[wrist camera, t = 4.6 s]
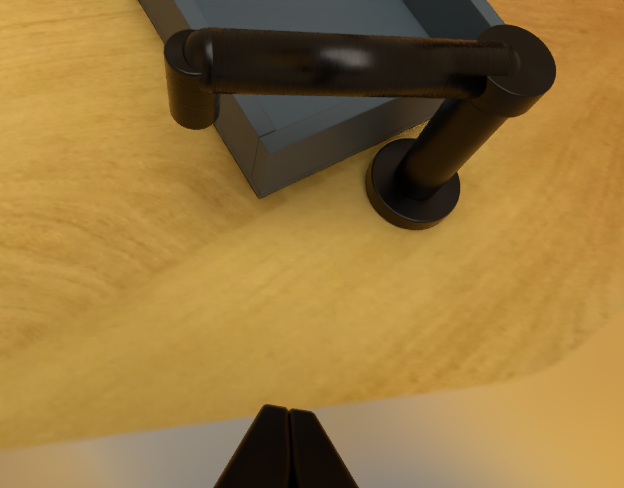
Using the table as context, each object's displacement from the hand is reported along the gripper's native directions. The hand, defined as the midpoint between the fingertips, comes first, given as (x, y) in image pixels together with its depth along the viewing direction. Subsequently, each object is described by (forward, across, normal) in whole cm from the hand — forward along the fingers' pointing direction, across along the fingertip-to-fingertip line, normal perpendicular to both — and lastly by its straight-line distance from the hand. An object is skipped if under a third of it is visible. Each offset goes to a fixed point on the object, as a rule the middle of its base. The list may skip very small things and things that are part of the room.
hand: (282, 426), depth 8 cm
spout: (+12, -1, -4) cm, 12 cm away
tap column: (+17, -6, 0) cm, 18 cm away
